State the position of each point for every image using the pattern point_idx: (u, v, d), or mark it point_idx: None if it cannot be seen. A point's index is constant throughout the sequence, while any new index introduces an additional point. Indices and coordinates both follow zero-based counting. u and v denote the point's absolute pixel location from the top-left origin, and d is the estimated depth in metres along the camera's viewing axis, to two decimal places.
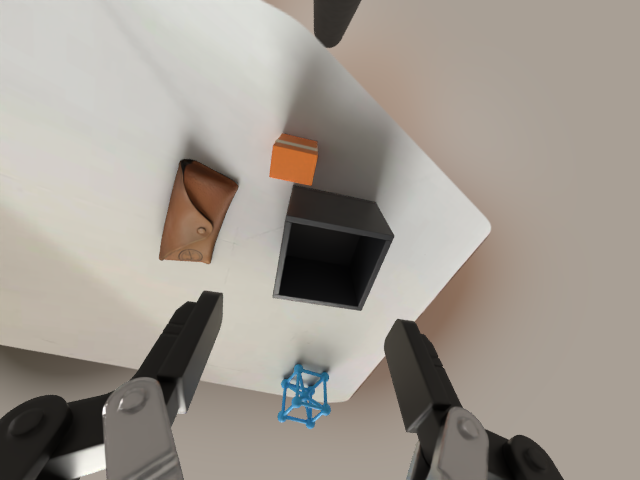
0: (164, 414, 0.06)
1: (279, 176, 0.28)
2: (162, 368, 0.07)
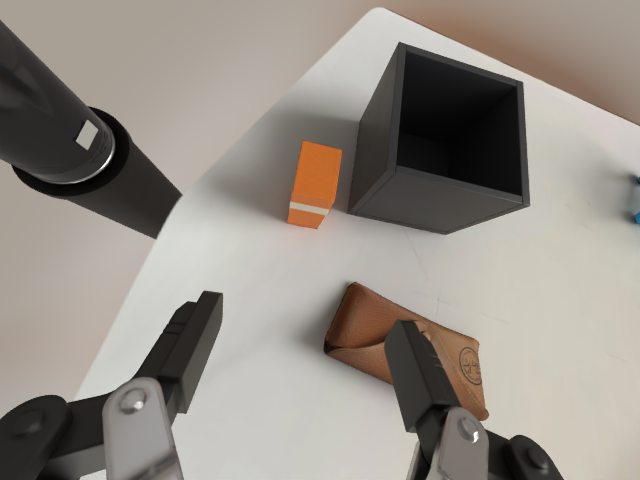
0: (164, 414, 0.06)
1: (332, 188, 0.20)
2: (162, 368, 0.07)
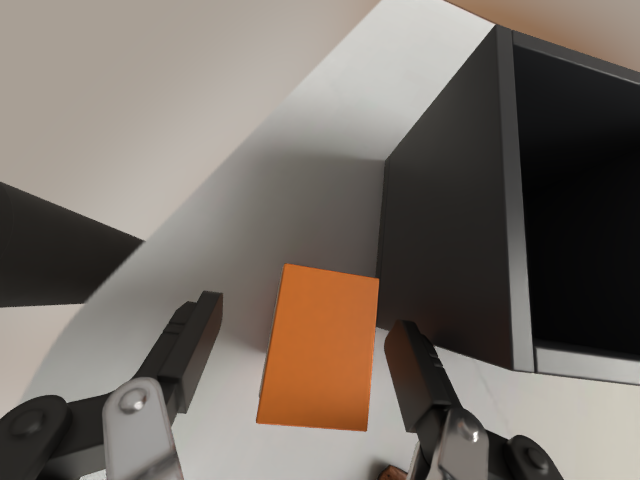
0: (164, 414, 0.06)
1: (361, 392, 0.08)
2: (162, 368, 0.07)
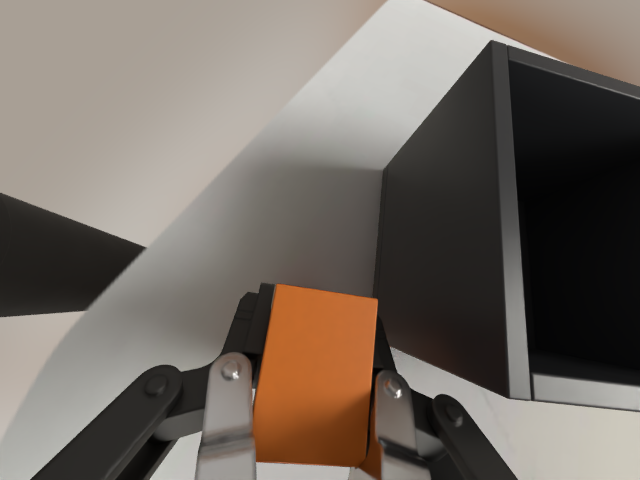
0: None
1: (358, 424, 0.07)
2: (245, 346, 0.08)
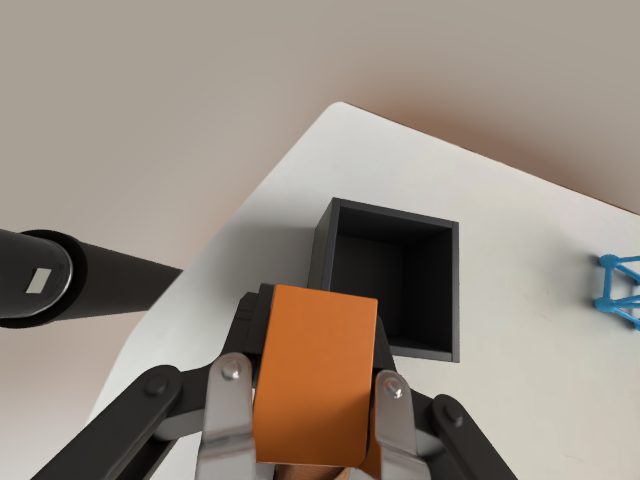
0: None
1: (358, 424, 0.07)
2: (245, 346, 0.08)
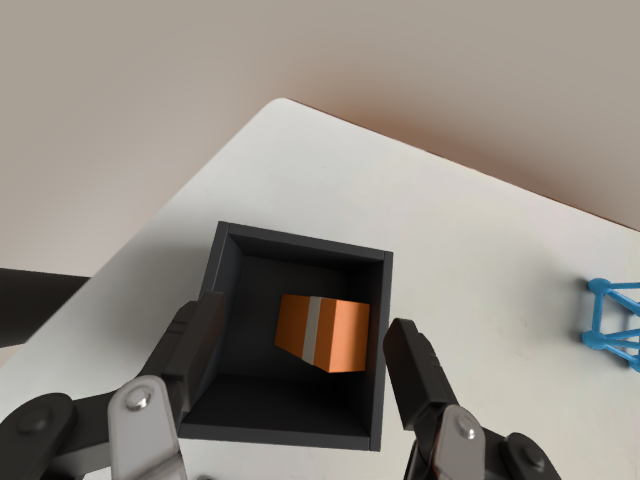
0: (169, 412, 0.06)
1: (363, 354, 0.19)
2: (166, 366, 0.07)
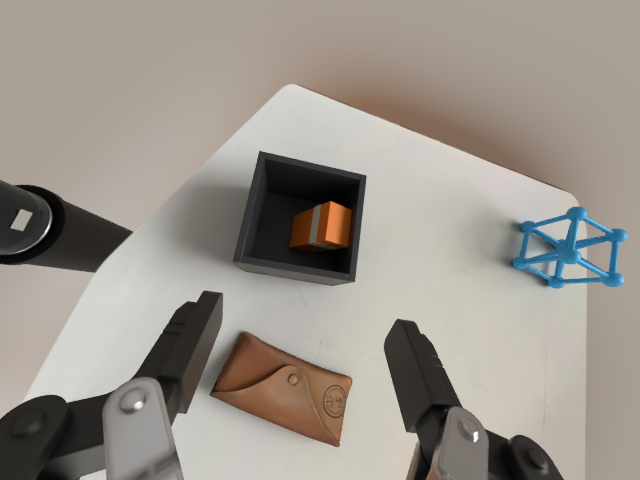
0: (164, 414, 0.06)
1: (347, 237, 0.30)
2: (162, 368, 0.07)
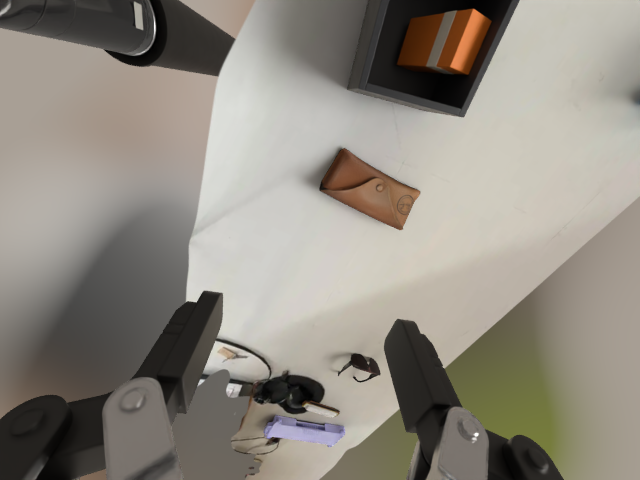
0: (164, 414, 0.06)
1: (472, 62, 0.28)
2: (162, 368, 0.07)
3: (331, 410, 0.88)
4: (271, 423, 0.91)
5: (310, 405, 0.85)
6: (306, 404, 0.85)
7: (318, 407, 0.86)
